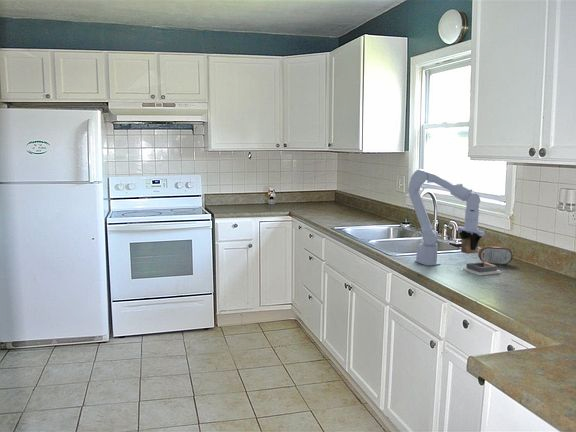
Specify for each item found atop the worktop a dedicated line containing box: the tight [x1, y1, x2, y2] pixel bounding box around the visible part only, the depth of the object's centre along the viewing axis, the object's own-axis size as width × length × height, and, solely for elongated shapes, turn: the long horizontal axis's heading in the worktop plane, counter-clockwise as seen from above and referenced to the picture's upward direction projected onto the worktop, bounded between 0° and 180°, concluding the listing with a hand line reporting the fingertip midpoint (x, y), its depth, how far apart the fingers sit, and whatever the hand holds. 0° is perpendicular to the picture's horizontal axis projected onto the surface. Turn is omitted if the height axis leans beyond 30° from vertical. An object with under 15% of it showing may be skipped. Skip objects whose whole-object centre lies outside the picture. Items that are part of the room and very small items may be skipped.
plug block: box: [460, 238, 479, 254], centre depth 244 cm, size 4×6×6 cm, turn 115°
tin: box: [477, 245, 514, 266], centre depth 252 cm, size 15×3×8 cm, turn 80°
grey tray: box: [462, 261, 501, 276], centre depth 238 cm, size 10×12×3 cm
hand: (469, 248), depth 244 cm, fingers closed on plug block, 4 cm apart
